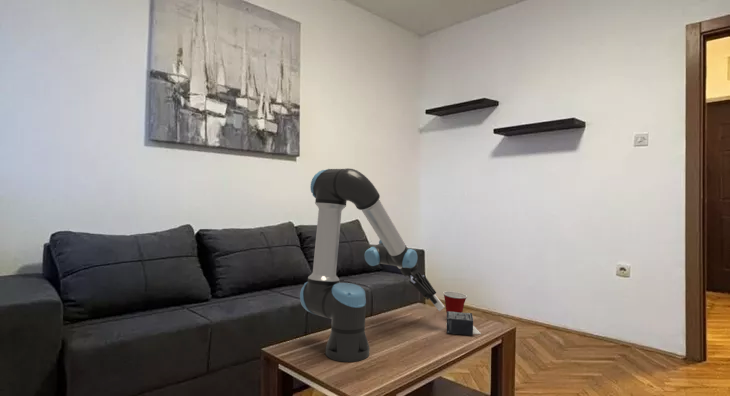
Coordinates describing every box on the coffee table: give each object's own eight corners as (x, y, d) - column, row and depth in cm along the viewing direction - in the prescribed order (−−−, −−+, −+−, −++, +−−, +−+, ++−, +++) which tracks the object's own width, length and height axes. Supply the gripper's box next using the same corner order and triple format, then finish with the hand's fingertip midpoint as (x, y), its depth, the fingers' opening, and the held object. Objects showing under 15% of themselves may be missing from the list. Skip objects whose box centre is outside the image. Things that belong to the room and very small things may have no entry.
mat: (452, 333, 168) (452, 333, 168) (445, 323, 181) (445, 323, 181) (481, 334, 168) (481, 333, 168) (471, 324, 181) (471, 323, 181)
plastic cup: (465, 324, 180) (466, 297, 180) (440, 322, 184) (441, 294, 184) (467, 318, 191) (468, 292, 191) (443, 315, 194) (444, 289, 194)
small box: (446, 334, 167) (473, 336, 165) (446, 318, 167) (473, 320, 165) (446, 325, 177) (471, 327, 175) (446, 310, 177) (472, 312, 175)
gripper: (406, 268, 187) (440, 311, 179) (394, 271, 176) (430, 318, 167) (417, 257, 184) (453, 300, 176) (406, 260, 173) (443, 307, 165)
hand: (442, 309), depth 172 cm, fingers closed
